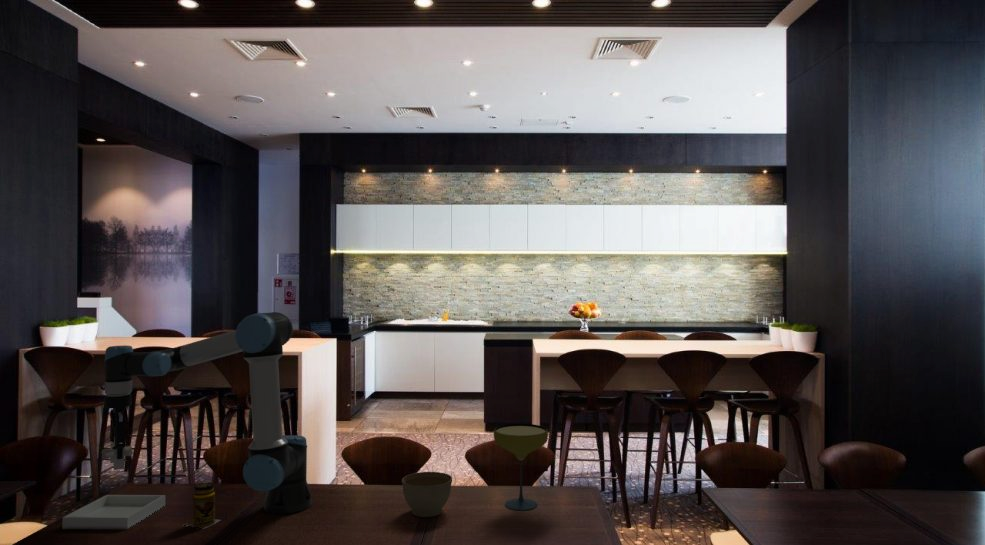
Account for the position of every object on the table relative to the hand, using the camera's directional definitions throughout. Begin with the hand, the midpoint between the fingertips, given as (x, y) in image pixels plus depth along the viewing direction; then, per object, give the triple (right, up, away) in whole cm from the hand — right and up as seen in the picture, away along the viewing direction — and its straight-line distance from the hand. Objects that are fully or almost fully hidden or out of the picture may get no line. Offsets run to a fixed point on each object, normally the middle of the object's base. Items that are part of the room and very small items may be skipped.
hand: (117, 465), depth 192 cm
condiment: (+30, -16, -6) cm, 35 cm away
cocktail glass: (+129, -16, +9) cm, 131 cm away
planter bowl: (+99, -16, +2) cm, 100 cm away
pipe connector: (0, -1, 0) cm, 1 cm away
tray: (0, -16, 0) cm, 16 cm away
